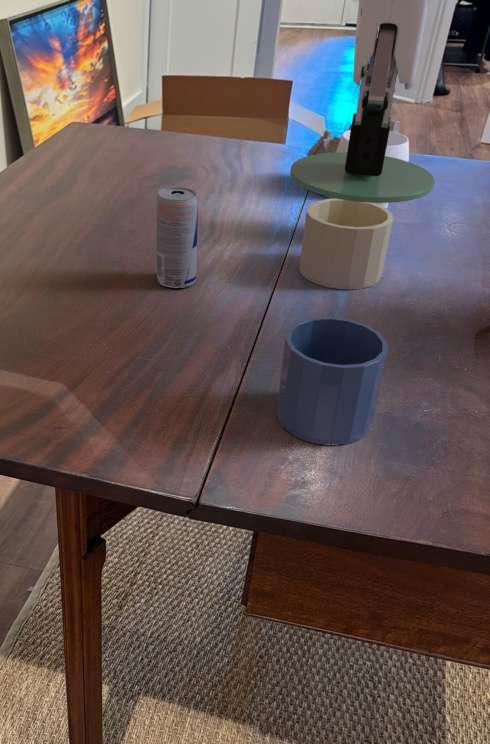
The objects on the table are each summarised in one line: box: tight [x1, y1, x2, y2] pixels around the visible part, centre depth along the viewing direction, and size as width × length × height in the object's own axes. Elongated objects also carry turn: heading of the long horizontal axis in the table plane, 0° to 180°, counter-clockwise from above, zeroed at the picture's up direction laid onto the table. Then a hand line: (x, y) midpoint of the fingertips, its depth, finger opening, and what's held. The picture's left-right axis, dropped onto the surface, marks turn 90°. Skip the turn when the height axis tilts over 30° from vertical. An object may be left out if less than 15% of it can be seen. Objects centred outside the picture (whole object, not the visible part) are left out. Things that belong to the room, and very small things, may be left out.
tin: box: [299, 198, 394, 290], centre depth 99 cm, size 12×12×8 cm
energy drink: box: [155, 186, 199, 288], centre depth 94 cm, size 5×5×12 cm
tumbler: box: [276, 316, 388, 446], centre depth 70 cm, size 10×10×9 cm
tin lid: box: [289, 110, 435, 204], centre depth 63 cm, size 13×13×6 cm
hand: (363, 166), depth 64 cm, fingers closed on tin lid, 2 cm apart
